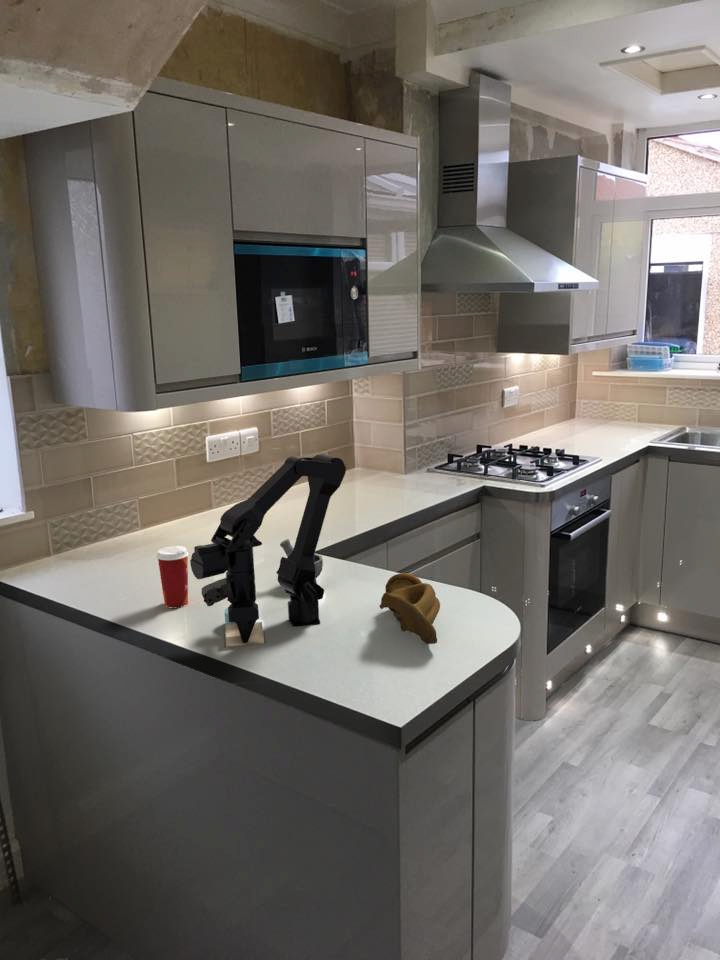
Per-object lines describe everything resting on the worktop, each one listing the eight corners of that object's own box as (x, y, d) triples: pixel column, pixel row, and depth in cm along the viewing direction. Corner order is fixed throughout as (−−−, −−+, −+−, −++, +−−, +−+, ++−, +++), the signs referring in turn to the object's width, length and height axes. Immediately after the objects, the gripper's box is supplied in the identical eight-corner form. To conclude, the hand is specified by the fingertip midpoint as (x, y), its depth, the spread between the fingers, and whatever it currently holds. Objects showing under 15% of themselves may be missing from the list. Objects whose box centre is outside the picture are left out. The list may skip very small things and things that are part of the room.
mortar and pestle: (327, 578, 209) (325, 535, 206) (319, 591, 200) (317, 546, 197) (286, 576, 211) (284, 534, 208) (276, 589, 202) (274, 544, 199)
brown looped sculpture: (343, 611, 167) (377, 563, 186) (365, 662, 170) (396, 610, 189) (420, 597, 159) (448, 548, 178) (442, 651, 162) (467, 597, 181)
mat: (264, 632, 175) (264, 630, 175) (266, 645, 169) (266, 643, 168) (224, 635, 174) (223, 634, 174) (224, 649, 167) (224, 647, 167)
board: (262, 631, 175) (261, 621, 174) (263, 643, 169) (263, 633, 168) (226, 634, 174) (225, 625, 173) (226, 646, 167) (225, 637, 167)
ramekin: (251, 620, 182) (250, 603, 182) (252, 630, 177) (251, 613, 176) (225, 622, 181) (224, 606, 181) (225, 632, 176) (224, 616, 175)
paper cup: (198, 603, 193) (194, 549, 190) (172, 612, 188) (168, 557, 185) (179, 595, 198) (175, 543, 195) (153, 604, 193) (149, 550, 190)
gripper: (203, 557, 175) (207, 622, 179) (201, 586, 157) (206, 658, 161) (253, 553, 177) (256, 618, 180) (257, 582, 159) (260, 653, 162)
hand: (244, 636), depth 171 cm, fingers closed on board, 6 cm apart
